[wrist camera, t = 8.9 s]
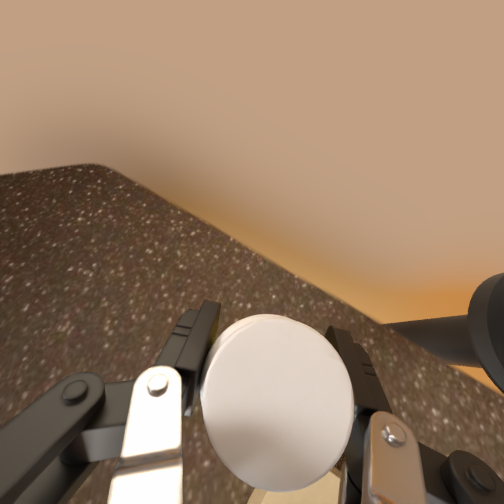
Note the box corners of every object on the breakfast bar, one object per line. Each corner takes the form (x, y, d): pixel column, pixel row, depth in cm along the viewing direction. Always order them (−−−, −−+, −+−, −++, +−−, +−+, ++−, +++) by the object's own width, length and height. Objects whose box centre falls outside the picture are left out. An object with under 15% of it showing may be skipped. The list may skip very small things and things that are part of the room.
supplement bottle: (304, 336, 15) (381, 330, 7) (288, 426, 13) (363, 548, 5) (228, 314, 15) (219, 284, 7) (202, 400, 14) (155, 483, 6)
